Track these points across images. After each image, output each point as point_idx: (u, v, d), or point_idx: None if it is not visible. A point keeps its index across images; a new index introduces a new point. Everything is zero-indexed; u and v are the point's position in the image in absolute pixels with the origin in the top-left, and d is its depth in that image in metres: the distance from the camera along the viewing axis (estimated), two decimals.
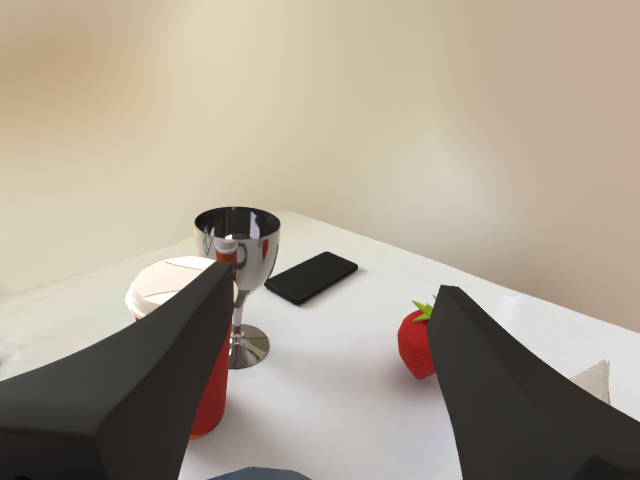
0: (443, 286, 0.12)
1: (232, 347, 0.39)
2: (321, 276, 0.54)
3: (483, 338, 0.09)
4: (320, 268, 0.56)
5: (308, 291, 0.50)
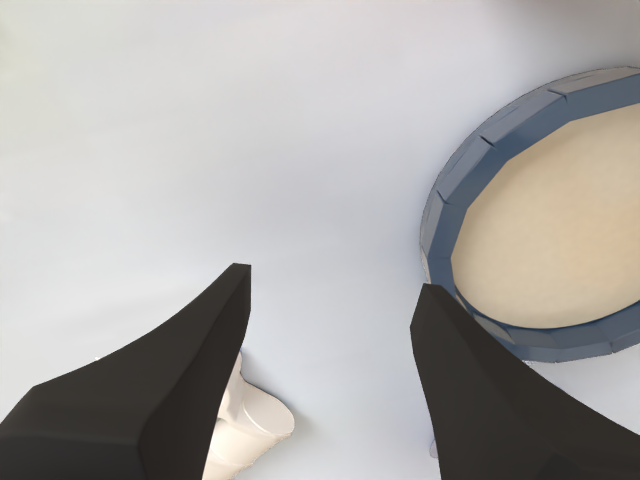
0: (425, 284, 0.12)
1: None
2: None
3: (460, 336, 0.09)
4: None
5: None
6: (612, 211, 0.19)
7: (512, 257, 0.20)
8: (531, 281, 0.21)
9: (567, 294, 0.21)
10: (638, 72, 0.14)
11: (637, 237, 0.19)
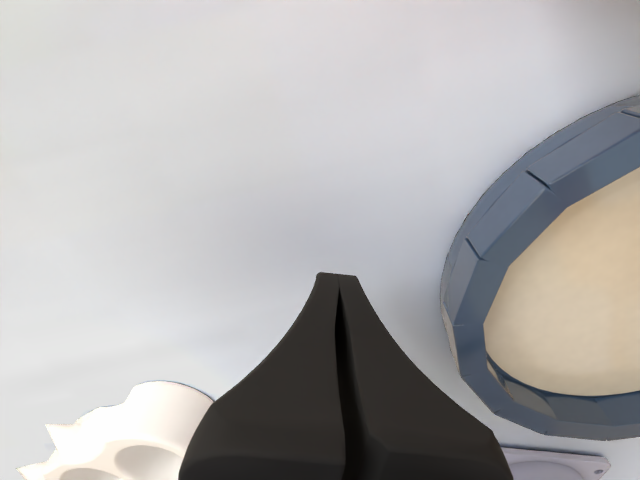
0: (338, 275, 0.12)
1: None
2: None
3: (348, 324, 0.09)
4: None
5: None
6: None
7: (557, 316, 0.16)
8: (579, 344, 0.17)
9: (622, 359, 0.17)
10: None
11: None
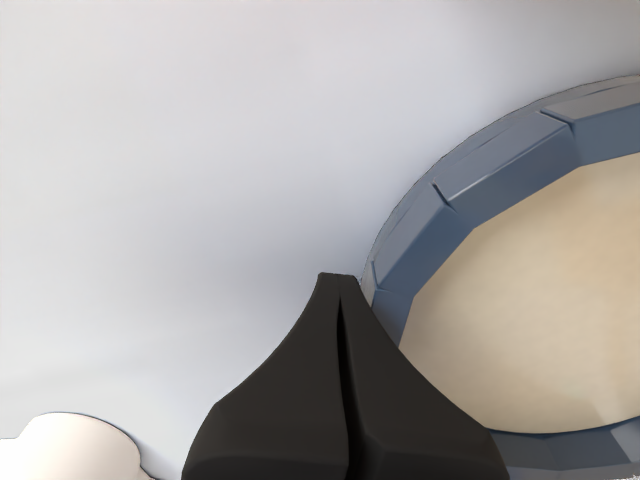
0: (336, 275, 0.12)
1: None
2: None
3: (346, 324, 0.09)
4: None
5: None
6: None
7: (490, 348, 0.14)
8: (519, 378, 0.15)
9: (570, 394, 0.15)
10: None
11: None
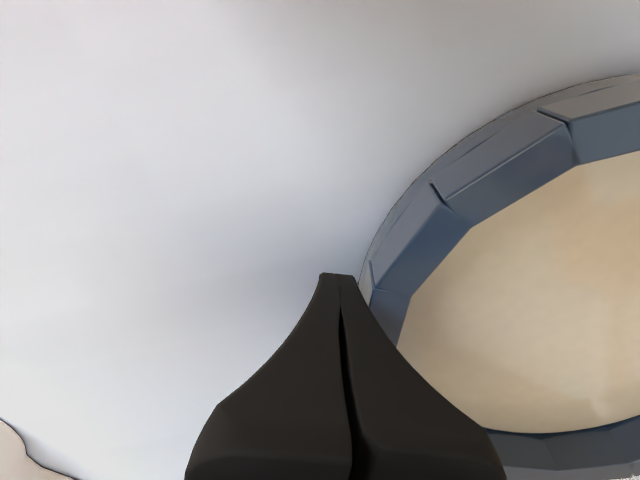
0: (335, 275, 0.12)
1: None
2: None
3: (344, 324, 0.09)
4: None
5: None
6: (638, 290, 0.12)
7: (488, 348, 0.14)
8: (517, 378, 0.15)
9: (568, 394, 0.15)
10: None
11: None
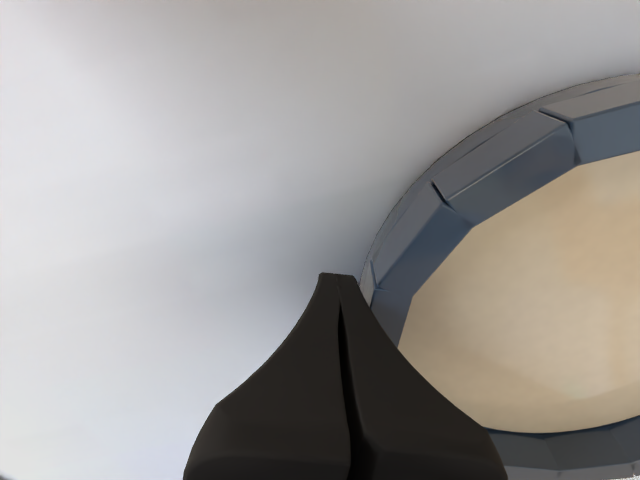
0: (335, 275, 0.12)
1: None
2: None
3: (345, 324, 0.09)
4: None
5: None
6: (639, 290, 0.12)
7: (489, 348, 0.14)
8: (518, 378, 0.15)
9: (569, 394, 0.15)
10: None
11: None
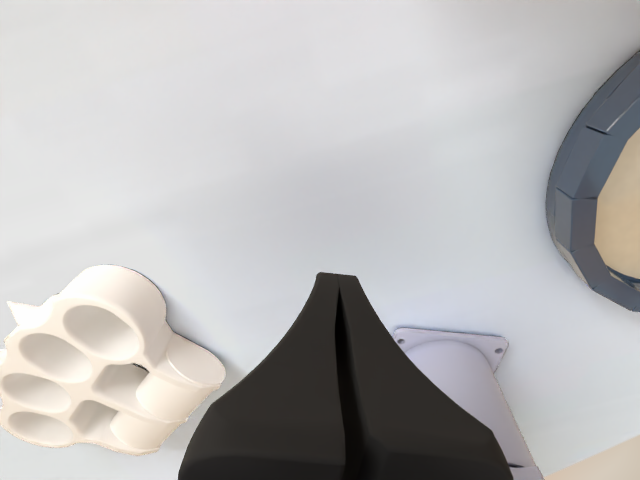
0: (338, 275, 0.12)
1: None
2: None
3: (348, 324, 0.09)
4: None
5: None
6: None
7: None
8: None
9: None
10: None
11: None
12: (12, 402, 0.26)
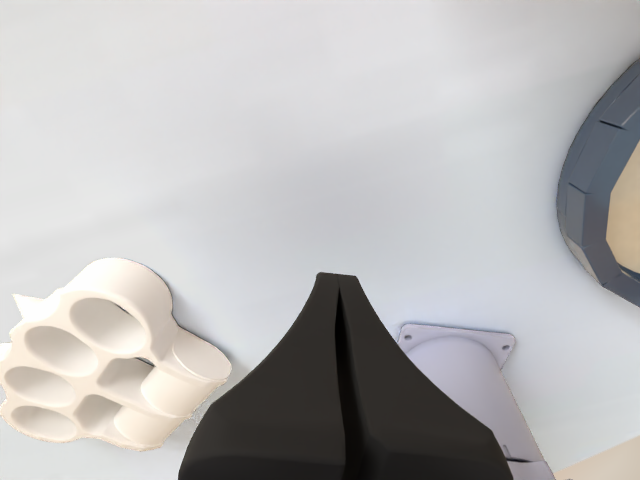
0: (338, 275, 0.12)
1: None
2: None
3: (349, 324, 0.09)
4: None
5: None
6: None
7: None
8: None
9: None
10: None
11: None
12: (16, 396, 0.26)
